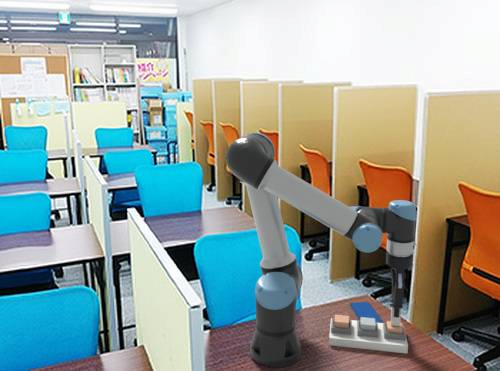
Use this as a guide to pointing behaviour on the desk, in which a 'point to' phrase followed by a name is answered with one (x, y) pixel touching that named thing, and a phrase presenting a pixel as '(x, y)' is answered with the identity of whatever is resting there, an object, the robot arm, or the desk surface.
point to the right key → (394, 328)
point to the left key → (341, 321)
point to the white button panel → (368, 337)
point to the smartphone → (365, 311)
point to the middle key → (367, 324)
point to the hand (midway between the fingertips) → (395, 324)
